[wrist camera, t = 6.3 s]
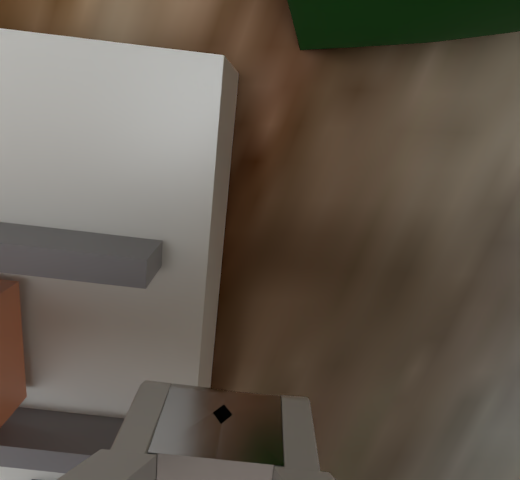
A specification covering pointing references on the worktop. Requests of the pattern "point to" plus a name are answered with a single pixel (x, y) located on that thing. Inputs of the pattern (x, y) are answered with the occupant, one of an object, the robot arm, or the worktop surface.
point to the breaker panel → (108, 231)
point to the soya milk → (398, 21)
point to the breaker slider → (11, 351)
